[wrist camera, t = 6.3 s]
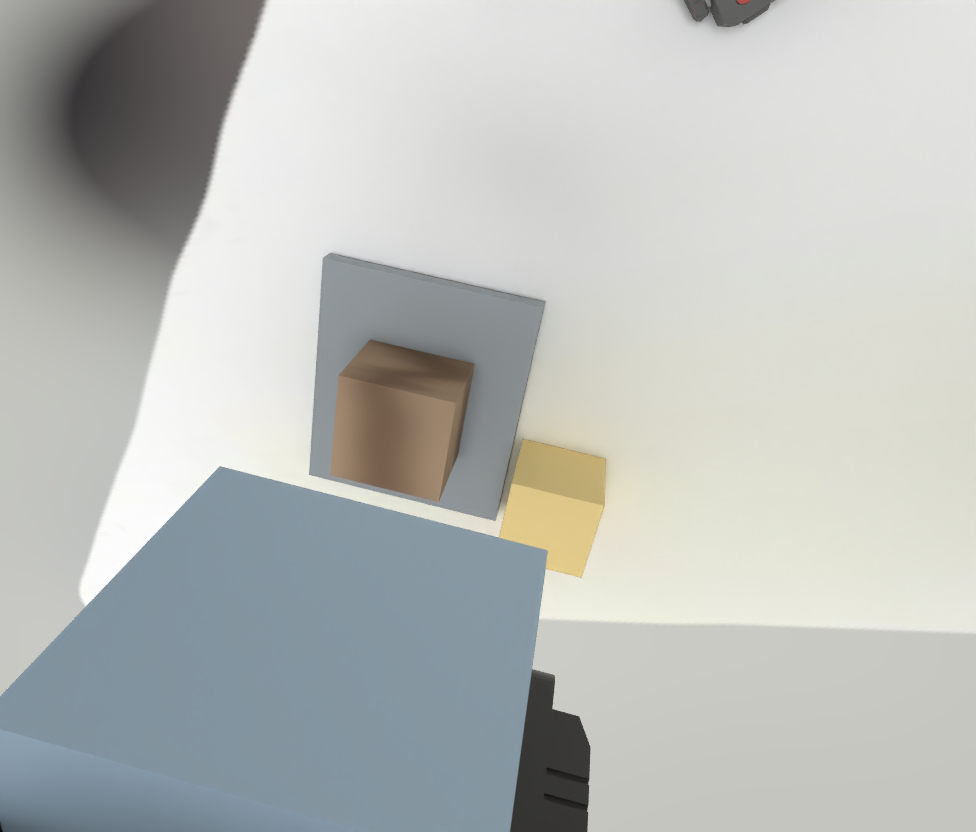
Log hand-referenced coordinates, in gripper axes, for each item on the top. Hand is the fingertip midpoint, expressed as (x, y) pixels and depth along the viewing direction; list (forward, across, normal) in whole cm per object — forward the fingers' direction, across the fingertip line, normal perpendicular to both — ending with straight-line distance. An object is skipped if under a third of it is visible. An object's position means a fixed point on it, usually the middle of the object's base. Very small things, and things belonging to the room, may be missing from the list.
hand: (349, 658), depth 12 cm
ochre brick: (+28, -5, +13) cm, 31 cm away
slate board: (+28, +4, +9) cm, 30 cm away
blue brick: (+1, 0, 0) cm, 1 cm away
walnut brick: (+27, +4, +9) cm, 29 cm away
